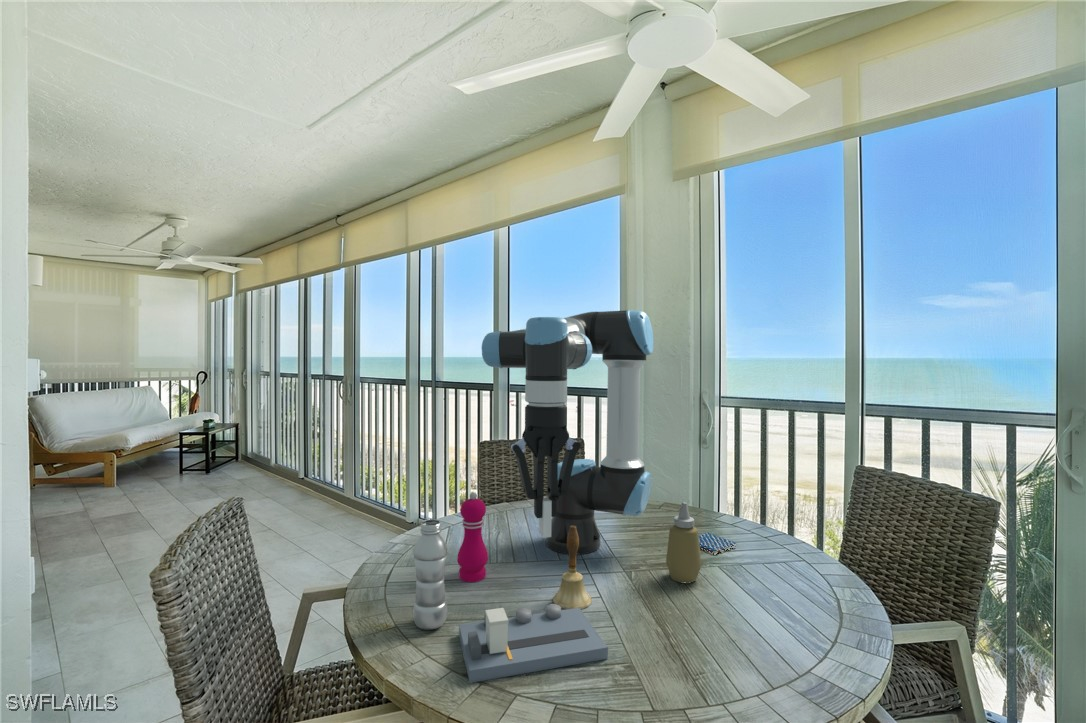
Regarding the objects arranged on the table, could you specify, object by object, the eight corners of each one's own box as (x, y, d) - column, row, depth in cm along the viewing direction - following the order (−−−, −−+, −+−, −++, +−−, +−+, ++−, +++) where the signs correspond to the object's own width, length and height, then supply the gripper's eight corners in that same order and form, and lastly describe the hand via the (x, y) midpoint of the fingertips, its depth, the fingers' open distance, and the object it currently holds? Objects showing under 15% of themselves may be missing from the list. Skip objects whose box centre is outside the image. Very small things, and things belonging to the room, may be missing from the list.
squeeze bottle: (707, 578, 118) (708, 503, 118) (691, 590, 112) (692, 510, 112) (675, 568, 123) (676, 496, 123) (659, 578, 117) (660, 503, 117)
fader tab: (503, 637, 88) (503, 607, 88) (508, 651, 84) (508, 619, 84) (485, 640, 87) (485, 610, 87) (489, 654, 83) (489, 622, 83)
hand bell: (547, 594, 109) (548, 522, 109) (581, 589, 112) (582, 518, 112) (562, 613, 101) (562, 535, 101) (598, 606, 104) (599, 530, 104)
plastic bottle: (430, 638, 92) (431, 530, 91) (405, 627, 95) (406, 524, 95) (454, 622, 97) (455, 521, 97) (429, 613, 101) (430, 515, 100)
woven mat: (739, 549, 137) (739, 542, 137) (715, 558, 131) (715, 550, 131) (707, 537, 146) (707, 531, 146) (683, 545, 140) (683, 538, 139)
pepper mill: (482, 584, 113) (483, 497, 113) (452, 581, 115) (453, 495, 114) (491, 571, 120) (492, 489, 120) (463, 568, 122) (464, 487, 122)
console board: (579, 617, 100) (579, 597, 100) (607, 658, 86) (608, 635, 86) (459, 635, 93) (459, 614, 93) (469, 683, 79) (469, 658, 79)
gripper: (572, 401, 94) (571, 524, 95) (505, 402, 90) (505, 531, 91) (587, 405, 87) (586, 538, 87) (515, 407, 83) (514, 546, 84)
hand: (545, 534), depth 89 cm, fingers closed
